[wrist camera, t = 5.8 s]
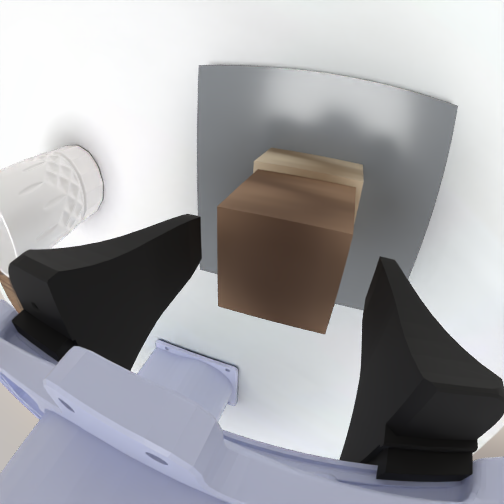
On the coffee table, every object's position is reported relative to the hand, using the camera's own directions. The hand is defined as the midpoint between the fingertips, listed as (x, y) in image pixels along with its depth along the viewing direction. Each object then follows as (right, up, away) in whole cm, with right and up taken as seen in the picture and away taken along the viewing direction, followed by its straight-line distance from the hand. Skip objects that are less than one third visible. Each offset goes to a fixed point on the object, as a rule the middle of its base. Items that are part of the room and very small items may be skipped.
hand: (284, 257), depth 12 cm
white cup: (-17, +7, +12) cm, 22 cm away
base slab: (+2, +4, +6) cm, 8 cm away
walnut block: (+1, +2, +3) cm, 3 cm away
